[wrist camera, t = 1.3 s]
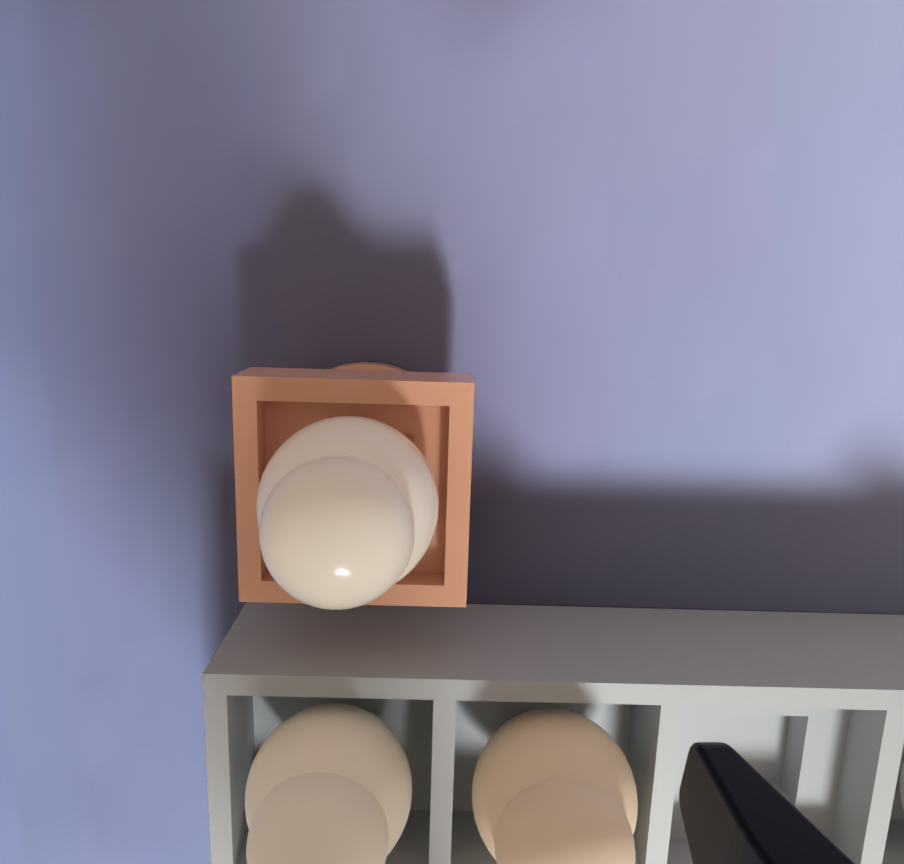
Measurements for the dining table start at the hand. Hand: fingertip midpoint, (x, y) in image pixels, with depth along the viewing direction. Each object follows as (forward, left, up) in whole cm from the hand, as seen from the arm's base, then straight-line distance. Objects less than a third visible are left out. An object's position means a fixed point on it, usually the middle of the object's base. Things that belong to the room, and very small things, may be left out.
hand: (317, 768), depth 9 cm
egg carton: (-8, -8, -14) cm, 18 cm away
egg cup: (0, +1, -14) cm, 14 cm away
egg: (0, +1, -12) cm, 12 cm away
